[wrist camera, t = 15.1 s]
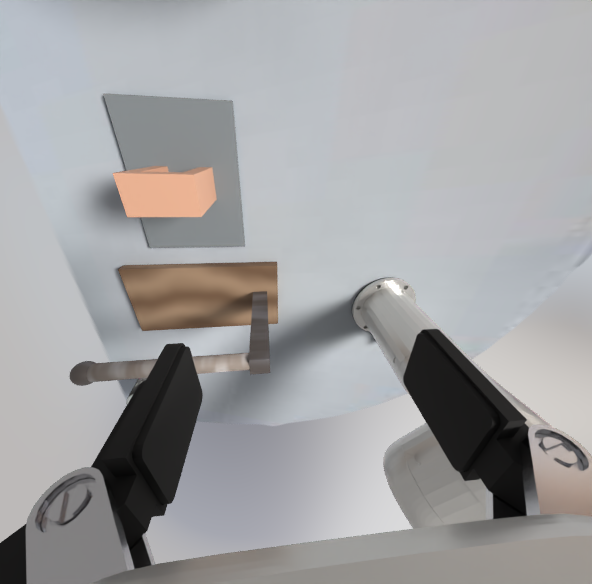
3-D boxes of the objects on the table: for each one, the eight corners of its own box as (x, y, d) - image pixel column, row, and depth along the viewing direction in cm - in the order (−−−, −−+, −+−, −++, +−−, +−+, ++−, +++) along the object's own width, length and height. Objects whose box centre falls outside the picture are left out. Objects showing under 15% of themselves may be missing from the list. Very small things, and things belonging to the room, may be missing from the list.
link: (212, 167, 31) (193, 174, 23) (216, 199, 33) (201, 217, 25) (154, 166, 30) (112, 173, 22) (162, 199, 32) (127, 217, 24)
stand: (277, 318, 46) (284, 398, 32) (145, 325, 43) (86, 416, 29) (276, 261, 40) (285, 327, 25) (123, 265, 37) (32, 342, 22)
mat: (245, 245, 38) (244, 246, 37) (151, 246, 36) (149, 247, 36) (232, 101, 29) (232, 100, 28) (106, 94, 27) (103, 93, 26)
